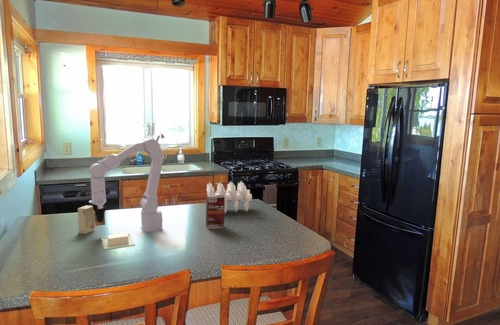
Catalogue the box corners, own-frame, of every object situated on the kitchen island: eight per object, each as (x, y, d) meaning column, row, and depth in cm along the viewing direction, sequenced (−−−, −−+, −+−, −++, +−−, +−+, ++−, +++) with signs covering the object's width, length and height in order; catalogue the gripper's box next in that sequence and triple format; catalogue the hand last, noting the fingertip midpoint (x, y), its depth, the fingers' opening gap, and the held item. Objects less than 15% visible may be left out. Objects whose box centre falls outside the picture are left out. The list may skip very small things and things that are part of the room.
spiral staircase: (251, 219, 203) (208, 219, 197) (245, 199, 217) (205, 199, 211) (257, 194, 193) (212, 194, 187) (250, 175, 208) (208, 174, 201)
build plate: (129, 235, 162) (129, 234, 162) (135, 246, 150) (135, 244, 150) (101, 239, 156) (101, 237, 156) (104, 251, 144) (104, 249, 144)
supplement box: (207, 229, 173) (207, 197, 170) (205, 226, 177) (205, 195, 175) (224, 228, 175) (225, 197, 173) (222, 225, 180) (222, 194, 177)
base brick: (127, 239, 156) (126, 233, 155) (128, 242, 152) (128, 236, 152) (107, 242, 152) (107, 235, 152) (108, 245, 148) (108, 238, 148)
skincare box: (86, 235, 162) (85, 209, 160) (78, 234, 163) (76, 208, 161) (95, 230, 168) (94, 205, 166) (87, 229, 169) (86, 204, 167)
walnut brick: (104, 222, 162) (103, 211, 161) (105, 224, 158) (104, 213, 157) (94, 223, 160) (94, 212, 159) (95, 225, 156) (94, 215, 156)
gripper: (87, 188, 161) (89, 217, 163) (89, 195, 149) (91, 226, 151) (104, 186, 165) (105, 215, 167) (107, 193, 152) (109, 224, 154)
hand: (99, 220), depth 159 cm, fingers closed on walnut brick, 4 cm apart
